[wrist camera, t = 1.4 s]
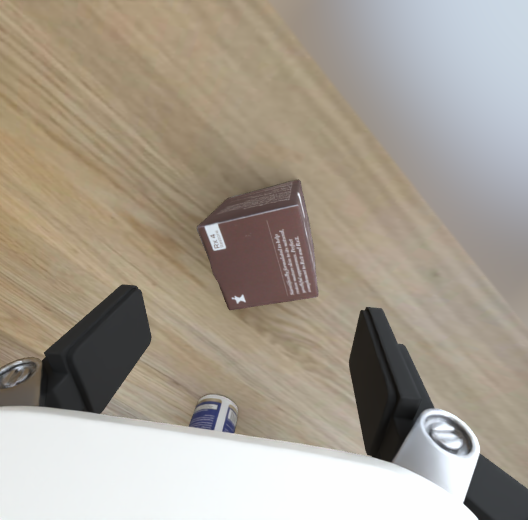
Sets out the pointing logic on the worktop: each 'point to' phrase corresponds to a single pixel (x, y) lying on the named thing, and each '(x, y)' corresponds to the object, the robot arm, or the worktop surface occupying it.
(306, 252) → the box
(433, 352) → the worktop surface
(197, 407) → the pill bottle
